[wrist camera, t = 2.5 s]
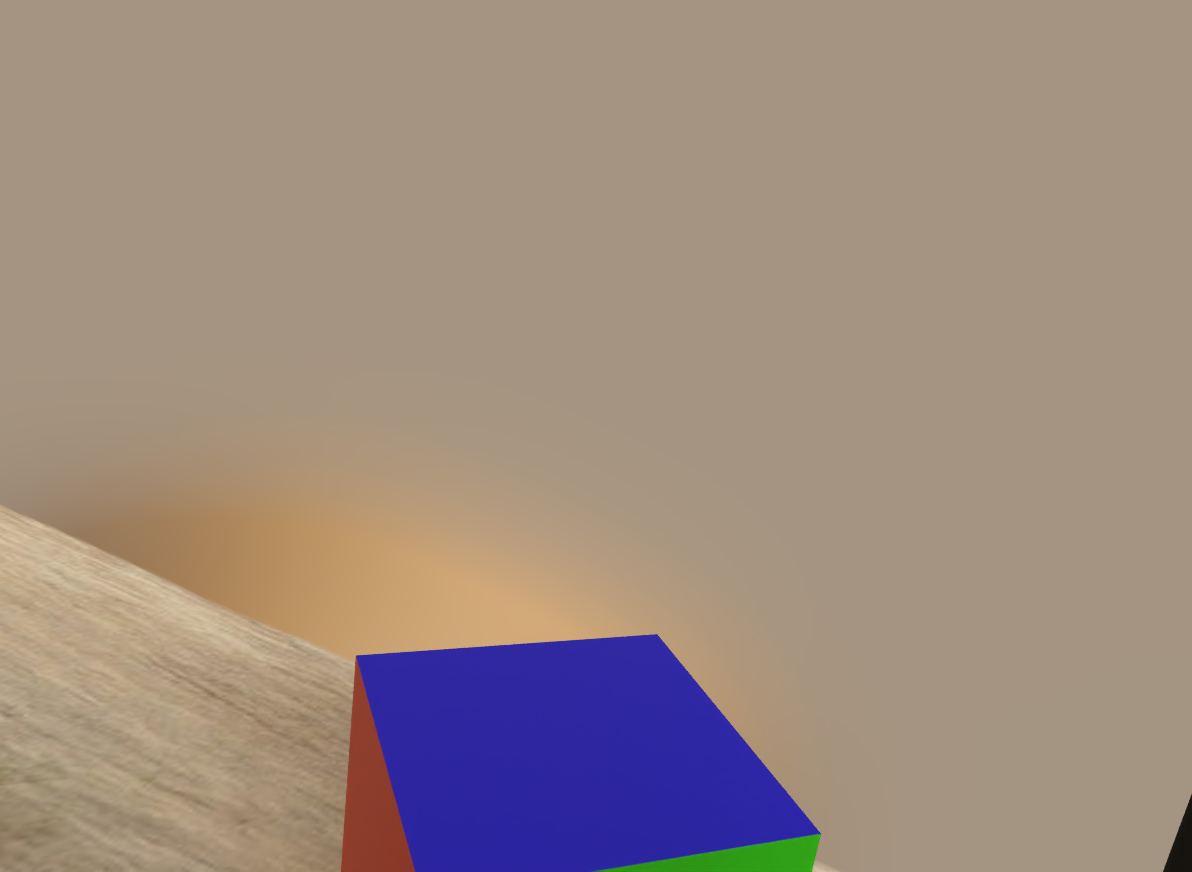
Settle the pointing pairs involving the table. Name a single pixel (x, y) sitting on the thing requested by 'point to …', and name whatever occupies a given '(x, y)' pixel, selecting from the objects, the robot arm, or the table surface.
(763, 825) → the cube
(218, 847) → the table surface
